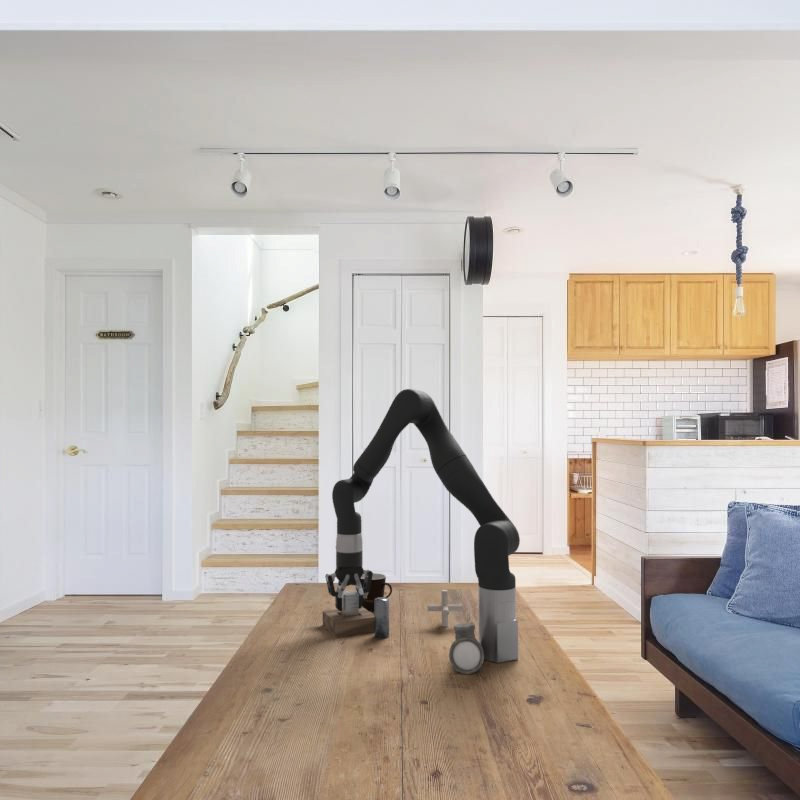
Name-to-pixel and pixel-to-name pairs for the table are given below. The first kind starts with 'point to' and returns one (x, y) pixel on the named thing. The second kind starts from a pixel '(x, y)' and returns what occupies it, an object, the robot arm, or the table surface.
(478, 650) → the pipe fitting
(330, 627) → the socket block
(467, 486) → the robot arm
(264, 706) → the table surface
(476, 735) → the table surface
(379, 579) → the coffee mug
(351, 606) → the square bit
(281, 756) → the table surface
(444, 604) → the pipe connector
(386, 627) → the round bit
